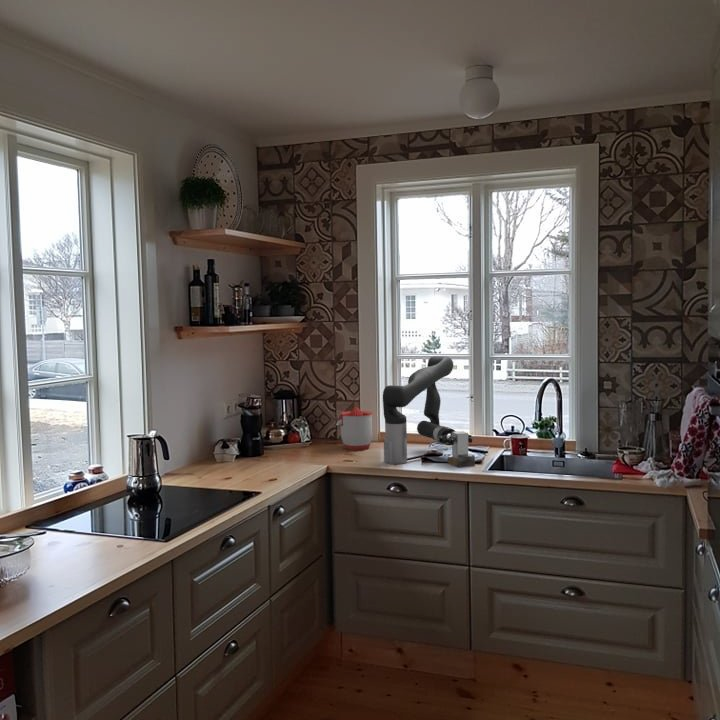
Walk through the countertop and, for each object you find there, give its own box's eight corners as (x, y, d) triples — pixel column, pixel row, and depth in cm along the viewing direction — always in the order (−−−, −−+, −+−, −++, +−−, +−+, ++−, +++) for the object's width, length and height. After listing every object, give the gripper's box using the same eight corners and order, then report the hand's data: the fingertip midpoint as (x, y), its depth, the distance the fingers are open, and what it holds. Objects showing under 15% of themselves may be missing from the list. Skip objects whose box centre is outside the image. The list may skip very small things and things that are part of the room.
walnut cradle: (457, 467, 299) (457, 457, 298) (447, 463, 307) (447, 453, 307) (474, 465, 301) (474, 456, 301) (464, 461, 310) (464, 452, 310)
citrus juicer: (334, 446, 349) (333, 405, 347) (369, 444, 352) (368, 403, 351) (339, 452, 334) (338, 410, 332) (376, 450, 337) (375, 408, 335)
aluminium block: (457, 459, 302) (457, 433, 301) (452, 457, 306) (451, 432, 306) (468, 458, 303) (468, 432, 303) (462, 456, 308) (462, 431, 307)
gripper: (430, 428, 315) (447, 433, 300) (458, 425, 320) (477, 431, 305) (430, 444, 315) (447, 451, 300) (459, 442, 320) (477, 448, 305)
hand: (462, 441), depth 302 cm, fingers open, 8 cm apart
